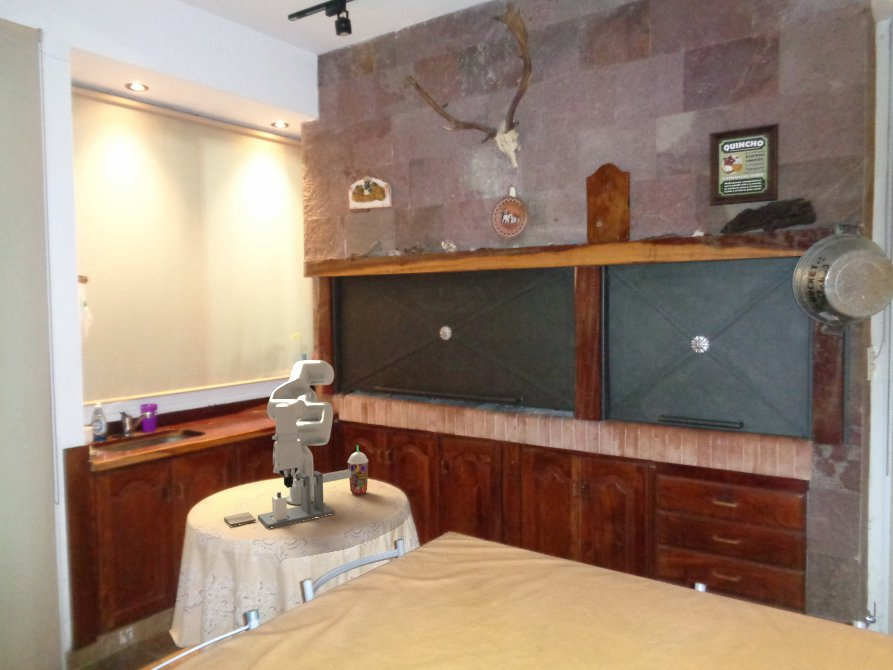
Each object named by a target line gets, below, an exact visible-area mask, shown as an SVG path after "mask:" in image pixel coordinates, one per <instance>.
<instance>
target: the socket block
mask: <svg viewBox="0 0 893 670" xmlns="http://www.w3.org/2000/svg"><path fill="white" fill-rule="evenodd" d="M323 474H324V473H321V472H320V471H318V470H313V476H314V475H316V476H318V484H315V485H314V502H312V503H311V498H310V476H308V475H307V474H305V473H300V478H304V479H305V486H304V487H301V505H300V506H299V505H298V506H295V507H291V508H290V507H289V508H287V517H288V518H286V519H282V520H277V521H274V520H273V519H272V518H271V517H273V511H270V512H266V513H260V514H257V519H259V520H260V523H261V524H262V525H263V526H265V528H266V529H268V528H270V529H272V528H271V527H274V528H277V527H276V526H279V527H283V526H287V525H286V524H288V525H291V524H290V523H292V524H296V523H295V522H297V523H300V522H299V521H302V522H304V521H303V520H306V521H309V520H308V519H311V520H313V519H312V518H315V517H320V518H322V517H321V516H324V517H326V516H325V515H329V514H333V515H335V509H333V508H332V507H330V506H329V505H327V504H326V503H324V483H323ZM329 516H330V515H329ZM315 519H316V518H315ZM259 520H258V521H259ZM282 525H283V526H282Z"/></svg>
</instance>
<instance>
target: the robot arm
mask: <svg viewBox="0 0 893 670" xmlns="http://www.w3.org/2000/svg"><path fill="white" fill-rule="evenodd" d="M334 378H335V371H334V368H333V366H332V365H331V364H329V362H327V361H326V360H322V359H317V360H315V359H313V360H312V359H311V360H309V359H306V360H299V361H297V362H295V363H294V364H293V366H292V370H291V373H290V375H289V379H288V381H287V382H285V383H283V384H280V386H278V387H277V388H276V389H274V390H273V392H272V393H271V394H270V398H269V400H268V402H267V406H266V413H267V416H268V418H270V419H271V420H275V435H272V436H271V439H272V440H273V441H274V440H275V441H274V443H273V449H272V451H273V452H272V467H273V471H272V472H273V473H274V474H280V475H282V476H283V485H284V486H285V487H286V488H288V489H289V494H288V496H285V497H286V501H287V504H289V505H295V506H297V505H298V506H299V505H300V506H301V487H299V488H295V487H293V479H296V473H305V474H307V475H308V476H313V471H314V456H313V453H312V451H311V449H310V448H309V447H308V446H325V445H327V444H328V443H329V440H330V437H331V433H332V426H333V420H334V409H333V406H332V404H331V403H330V402H328V401H318V398H319V397H318V395H317V394H316V392H315V391H314V390H313V389H312V388H311V387H310V386H329V385H331V384H332V383H333V382H334ZM310 498H311V504H313V503H314V485H310Z"/></svg>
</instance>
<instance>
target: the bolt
mask: <svg viewBox="0 0 893 670" xmlns="http://www.w3.org/2000/svg"><path fill="white" fill-rule="evenodd" d="M322 474H323V484H325V483H329V482H330V483H331V482H334V481H339V480H345V479H349V478H351V471H350V470H349V469H344V470H342V469H341V470H338V471H336V470H335V471H333V472H332V471H331V472H327V473H322ZM315 484H318V476H316V475H314V476H310V485H315ZM304 486H305V479H304V478H300V473H296V479H293V487H295V488H299V487H304Z"/></svg>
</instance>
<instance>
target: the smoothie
mask: <svg viewBox="0 0 893 670" xmlns="http://www.w3.org/2000/svg"><path fill="white" fill-rule="evenodd" d="M347 467H348V468H347V470H350V471H351V478H348V479H349V487H350V488H349V489H350V490H349V491H350V492H351V494H352V495H353V494H354V495H353V496H357V495H358V496H362V495H361V494H364V495H365V494H366V493H367V491H368V475H369V474H368V473H369V459H368V458H367V455H366V454H365V453H363V452H361V451H360V450H359V445H357V444H356V451H355V452H353V453H351V455H350V456H349V458H348V460H347Z"/></svg>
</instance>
